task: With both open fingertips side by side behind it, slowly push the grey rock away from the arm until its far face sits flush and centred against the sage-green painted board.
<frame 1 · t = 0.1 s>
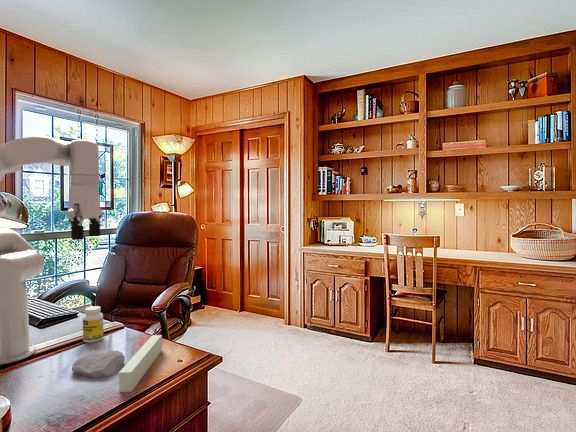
hand: (86, 237, 106), 37 cm above the table, tool pointing down, fingers open, 9 cm apart
grey rock: (97, 371, 98), on the table
pill bottle: (93, 340, 120), on the table
board: (143, 368, 99), on the table
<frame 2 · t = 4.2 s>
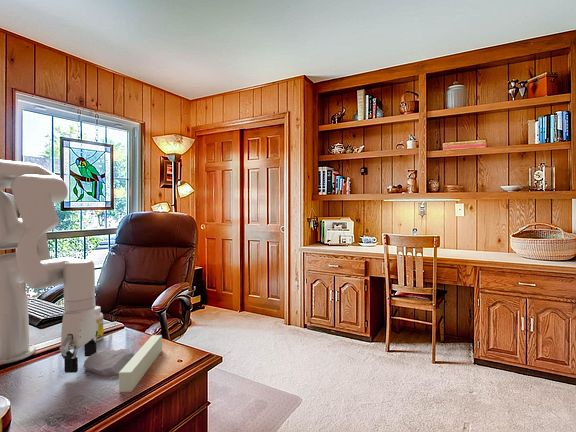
hand: (81, 363, 98), 2 cm above the table, tool pointing down, fingers open, 9 cm apart
grey rock: (108, 368, 100), on the table
everything else where it was.
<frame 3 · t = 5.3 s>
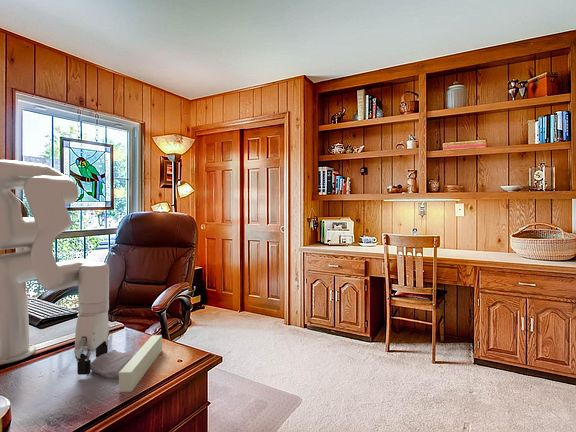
hand: (93, 365, 99), 1 cm above the table, tool pointing down, fingers open, 9 cm apart
grey rock: (114, 371, 98), on the table, touching board, gripper
everything else where it was.
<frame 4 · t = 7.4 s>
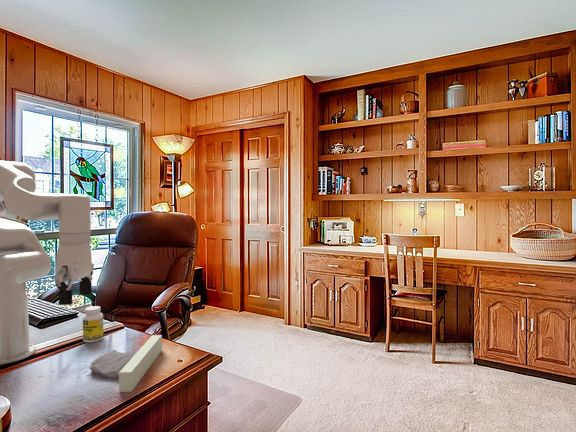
hand: (76, 299, 97), 20 cm above the table, tool pointing down, fingers open, 9 cm apart
grey rock: (114, 371, 99), on the table
everything else where it was.
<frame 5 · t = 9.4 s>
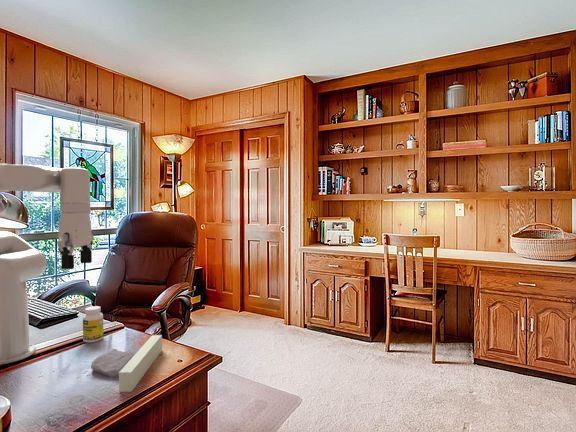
hand: (77, 265, 105), 28 cm above the table, tool pointing down, fingers open, 9 cm apart
nothing on the table moved.
at the end: grey rock 1.3 cm from the target spot on the table beside the board, on the table; grey rock tilted 0° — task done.
